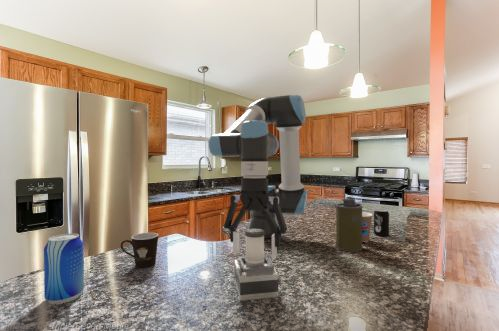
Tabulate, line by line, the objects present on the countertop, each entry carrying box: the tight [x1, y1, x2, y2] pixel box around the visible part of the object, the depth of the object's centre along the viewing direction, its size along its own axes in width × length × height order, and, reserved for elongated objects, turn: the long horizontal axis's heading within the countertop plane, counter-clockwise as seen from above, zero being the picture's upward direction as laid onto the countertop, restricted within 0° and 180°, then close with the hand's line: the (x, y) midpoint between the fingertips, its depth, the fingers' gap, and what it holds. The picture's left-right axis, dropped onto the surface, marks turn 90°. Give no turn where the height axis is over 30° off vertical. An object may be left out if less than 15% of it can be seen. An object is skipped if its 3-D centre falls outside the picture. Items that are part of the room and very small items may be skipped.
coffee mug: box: [120, 232, 159, 270], centre depth 92 cm, size 12×9×10 cm
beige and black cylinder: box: [244, 228, 265, 267], centre depth 75 cm, size 5×5×10 cm
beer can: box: [43, 233, 85, 305], centre depth 70 cm, size 8×8×16 cm
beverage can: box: [373, 208, 390, 237], centre depth 128 cm, size 7×7×12 cm
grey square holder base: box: [233, 254, 279, 301], centre depth 75 cm, size 12×10×7 cm
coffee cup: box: [362, 211, 374, 243], centre depth 119 cm, size 10×10×12 cm
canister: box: [335, 197, 364, 253], centre depth 109 cm, size 11×10×20 cm
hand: (254, 255), depth 75 cm, fingers open, 10 cm apart
